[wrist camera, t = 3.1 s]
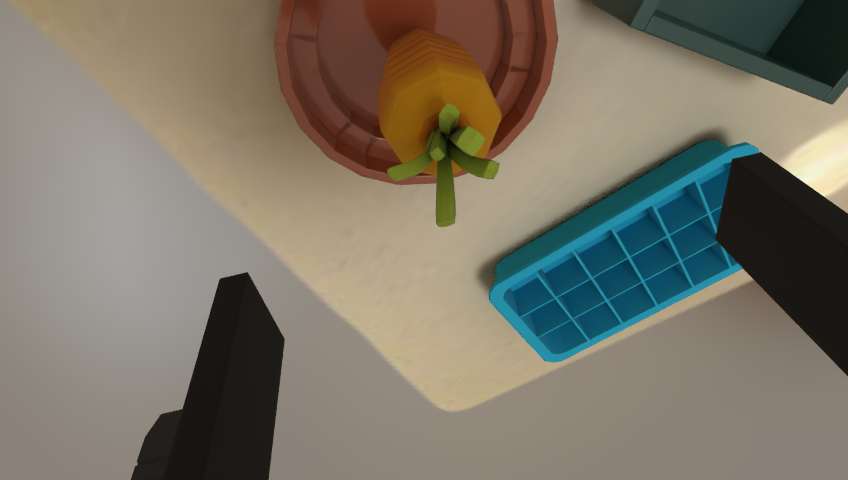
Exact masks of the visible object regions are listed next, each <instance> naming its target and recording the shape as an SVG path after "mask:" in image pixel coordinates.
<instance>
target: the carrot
mask: <svg viewBox="0 0 848 480" xmlns="http://www.w3.org/2000/svg"><path fill="white" fill-rule="evenodd" d="M378 110H379V122H380V130H381V132H382V134H383V135H384V137H385V138H386V140H387V141H388V143H389V144H390V146H391V147H392V149H393V150H394V152H395V153H396V155H397V156H398V158H399V159H400V161H401V162H402V164H400V165H397V166H394V167H391V168H389V169H388V170H387V173H388V174H389V176H390V177H391V178H392V179H393V180H394V181H400V180H404V179H407V178H410V177H412V176H415V175H418V174H419V173H425V174H431V175H436V176H437V191H436V224H437V225H438V226H439V227H445V226H450V225H452V224H454V223H455V215H456V208H455V191H454V180H453V175H454V174H456V173H458V172H460V171H462V170H464V171H466V172H468V173H470V174H473V175H475V176H477V177H481V178H487V179H494V177H495V175H496V174H497V172H498V168H499V163H497V162H495V161H492V160H489V159H484V158H486V155H487V153H488V151H489V148H490V146H491V143H492V141H493V138H494V136H495V133H496V131H497V128H498V126H499V123H500V121H501V117H502V113H501V110H500V108H499V106H498V104H497V102H496V100H495V98H494V96H493V93H492V91H491V89H490V87H489V85H488V83H487V81H486V79H485V77H484V74H483V72H482V70H481V69H480V67H479V66H478V65H477V63H476V62H475V61H474V59H473V58H472V57H471V55H470V54H469V53H468V52H467V51H466V50H465V48H464V47H463V46H462V45H461V44H460V43H458V42H456V41H454V40H453V39H451V38H448V37H446V36H443V35H440V34H437V33H433V32H429V31H426V30H422V29H419V28H415V29H413V30H412V31H410V32H409V33H407V34H405V35H404V36H402V37H400V38H399V39H397V40H395V41H394V42H392V44H391V46H390V48H389V52H388V56H387V60H386V64H385V68H384V72H383V76H382V80H381V84H380V88H379V92H378Z"/></svg>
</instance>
